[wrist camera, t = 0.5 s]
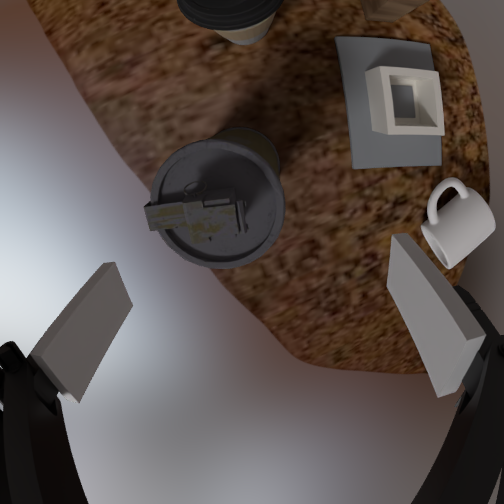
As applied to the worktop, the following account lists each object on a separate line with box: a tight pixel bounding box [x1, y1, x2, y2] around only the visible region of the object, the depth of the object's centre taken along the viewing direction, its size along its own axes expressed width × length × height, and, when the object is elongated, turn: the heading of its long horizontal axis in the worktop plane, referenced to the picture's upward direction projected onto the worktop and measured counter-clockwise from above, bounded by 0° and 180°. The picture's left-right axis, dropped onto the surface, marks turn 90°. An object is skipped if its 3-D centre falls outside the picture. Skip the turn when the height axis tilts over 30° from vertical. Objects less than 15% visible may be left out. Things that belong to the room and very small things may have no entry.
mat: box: [334, 37, 441, 169], centre depth 30 cm, size 18×14×1 cm
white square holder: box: [365, 66, 444, 135], centre depth 27 cm, size 8×8×6 cm
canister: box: [144, 127, 285, 269], centre depth 28 cm, size 11×10×20 cm
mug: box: [421, 178, 495, 269], centre depth 33 cm, size 12×10×8 cm
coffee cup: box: [177, 0, 283, 45], centre depth 21 cm, size 9×9×15 cm
